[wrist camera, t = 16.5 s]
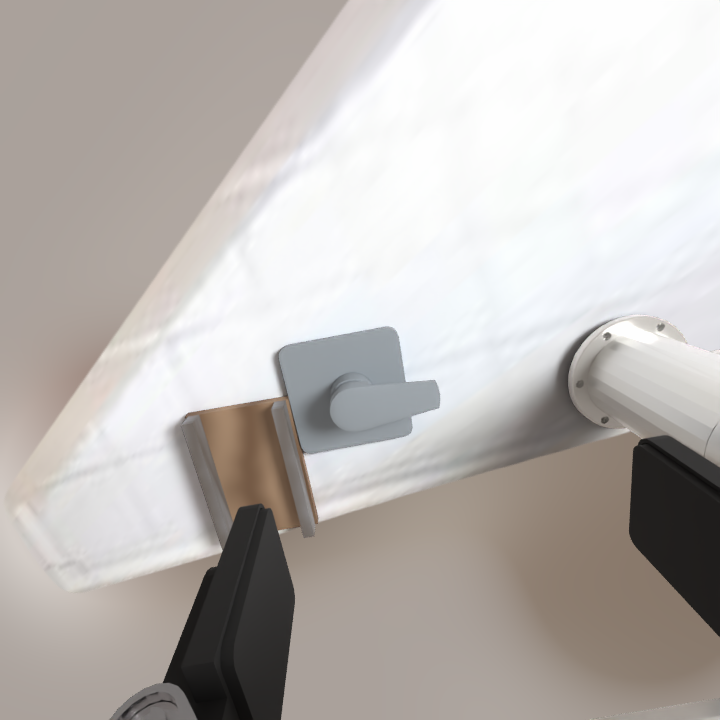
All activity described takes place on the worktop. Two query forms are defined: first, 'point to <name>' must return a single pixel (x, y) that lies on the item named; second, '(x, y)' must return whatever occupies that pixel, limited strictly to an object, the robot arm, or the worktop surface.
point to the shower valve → (352, 390)
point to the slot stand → (251, 463)
